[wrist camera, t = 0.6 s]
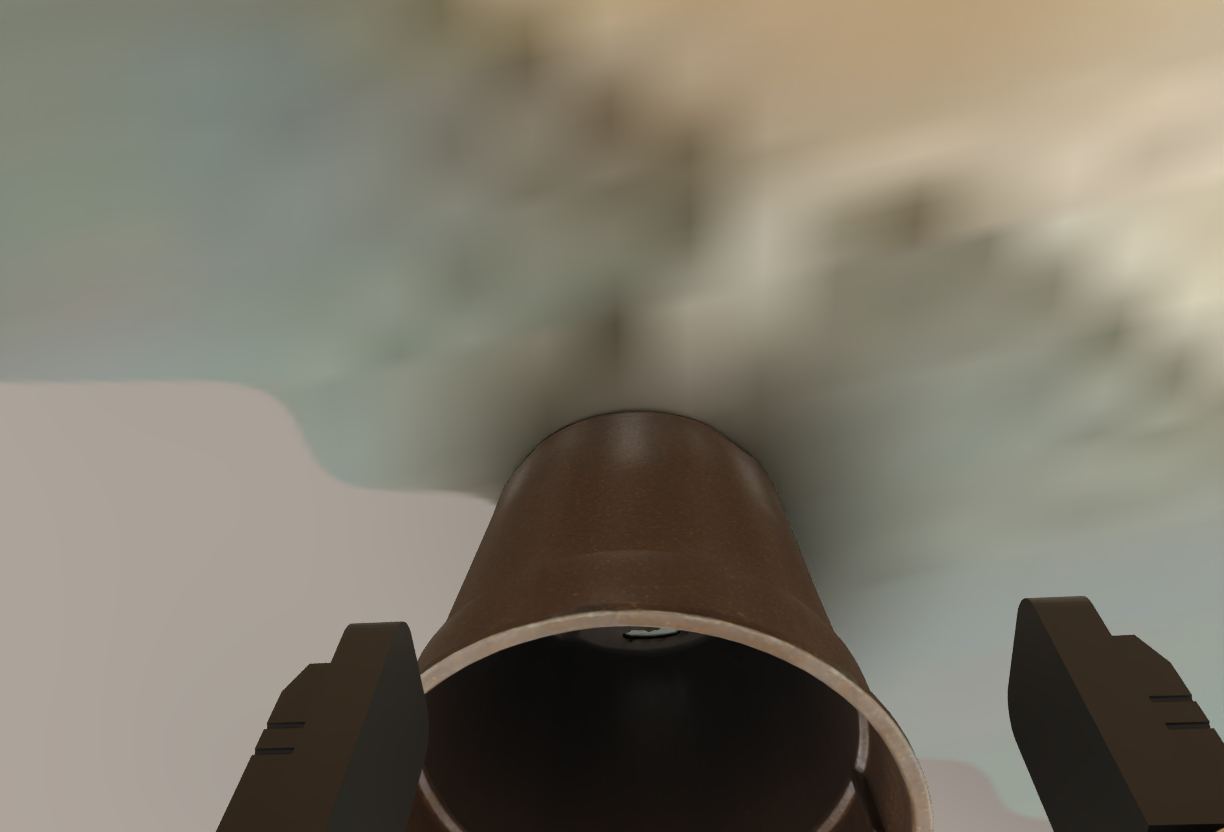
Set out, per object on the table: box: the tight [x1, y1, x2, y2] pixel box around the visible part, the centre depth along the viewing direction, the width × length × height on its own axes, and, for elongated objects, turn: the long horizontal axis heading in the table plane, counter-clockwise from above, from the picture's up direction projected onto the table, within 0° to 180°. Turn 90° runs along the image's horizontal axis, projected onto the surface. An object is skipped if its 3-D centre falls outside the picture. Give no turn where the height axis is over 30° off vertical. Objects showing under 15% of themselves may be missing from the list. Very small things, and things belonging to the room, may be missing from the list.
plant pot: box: [405, 411, 934, 832], centre depth 35 cm, size 16×16×16 cm
